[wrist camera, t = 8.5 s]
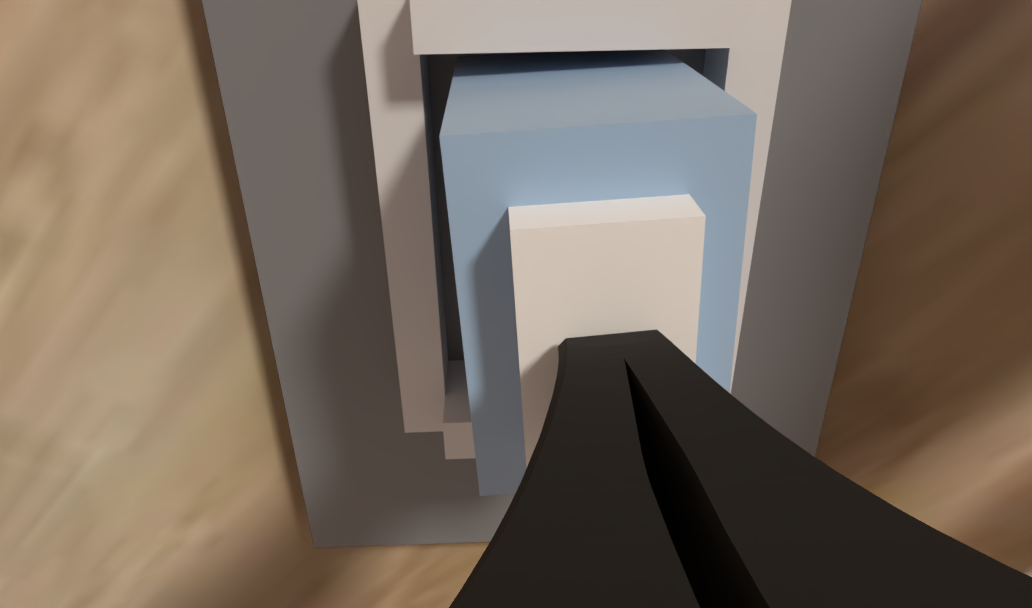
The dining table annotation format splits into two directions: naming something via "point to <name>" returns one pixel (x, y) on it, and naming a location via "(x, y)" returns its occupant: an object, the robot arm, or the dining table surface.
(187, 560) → the dining table surface
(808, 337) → the port panel
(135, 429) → the dining table surface
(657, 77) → the plug
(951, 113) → the dining table surface
